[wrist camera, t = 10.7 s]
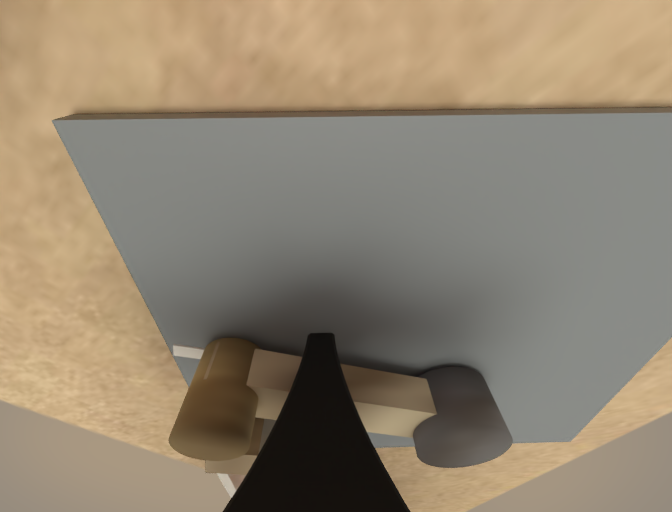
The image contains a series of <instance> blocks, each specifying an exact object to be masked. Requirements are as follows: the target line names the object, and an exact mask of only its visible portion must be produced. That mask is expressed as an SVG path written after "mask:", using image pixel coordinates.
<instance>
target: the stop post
mask: <svg viewBox="0 0 672 512" xmlns="http://www.w3.org/2000/svg"><path fill="white" fill-rule="evenodd" d="M263 424H264V418H257V417H255V421H254V427H253V432H252V437H251V442H250V447H249V450H248V452H247V453H246V454H244V455H243V456H241V457H238V458H235V459H231V460H225V461H207V460H205V472H206V473H220V474H236V475H246V474H247V473H248V471H249V469H250V468H251V466H252V464H253V463H254V461H255V459H256V457H257V456H258V454H259V448H260V442H261V436H262V430H263Z"/></svg>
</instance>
